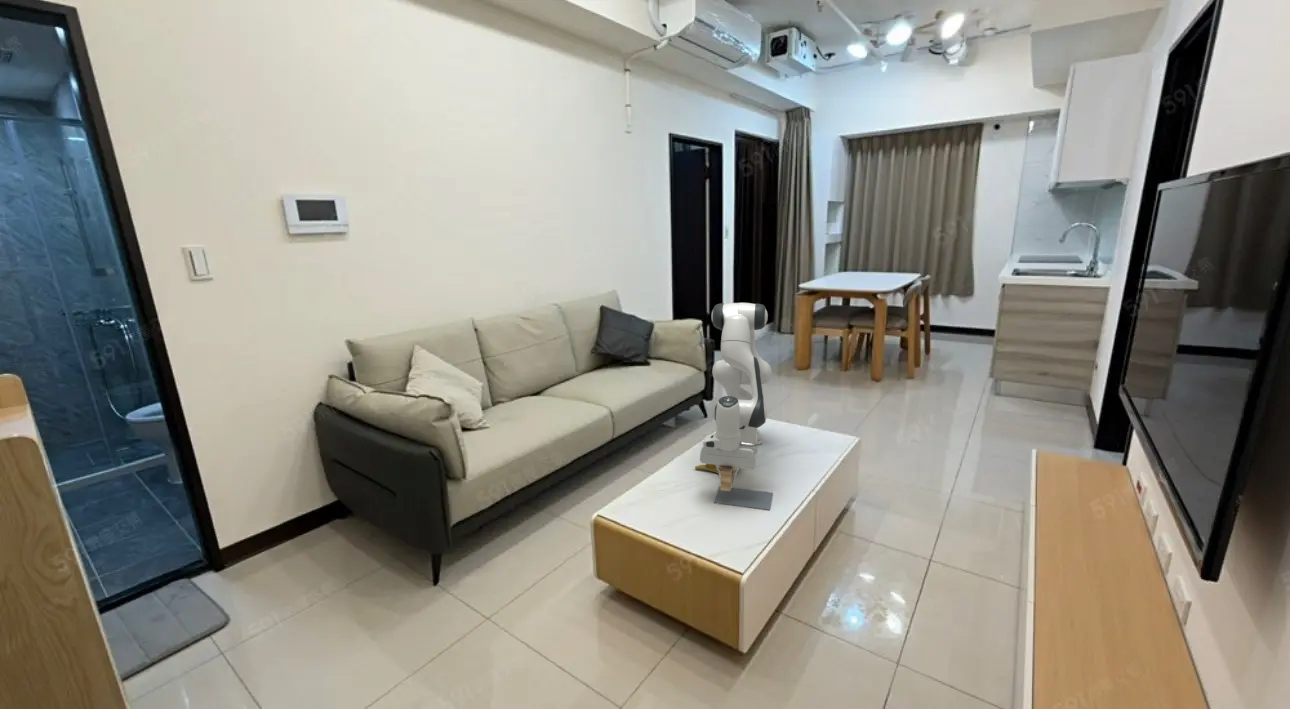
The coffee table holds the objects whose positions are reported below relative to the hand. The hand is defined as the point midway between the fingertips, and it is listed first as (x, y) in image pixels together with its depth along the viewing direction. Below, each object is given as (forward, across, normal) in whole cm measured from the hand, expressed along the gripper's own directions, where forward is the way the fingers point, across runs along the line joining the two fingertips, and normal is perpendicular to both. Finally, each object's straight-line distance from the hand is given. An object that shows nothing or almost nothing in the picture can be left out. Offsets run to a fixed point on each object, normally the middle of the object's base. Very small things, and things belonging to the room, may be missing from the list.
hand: (727, 475), depth 195 cm
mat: (+8, -6, 0) cm, 10 cm away
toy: (+9, +6, -19) cm, 22 cm away
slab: (+3, 0, 0) cm, 3 cm away
